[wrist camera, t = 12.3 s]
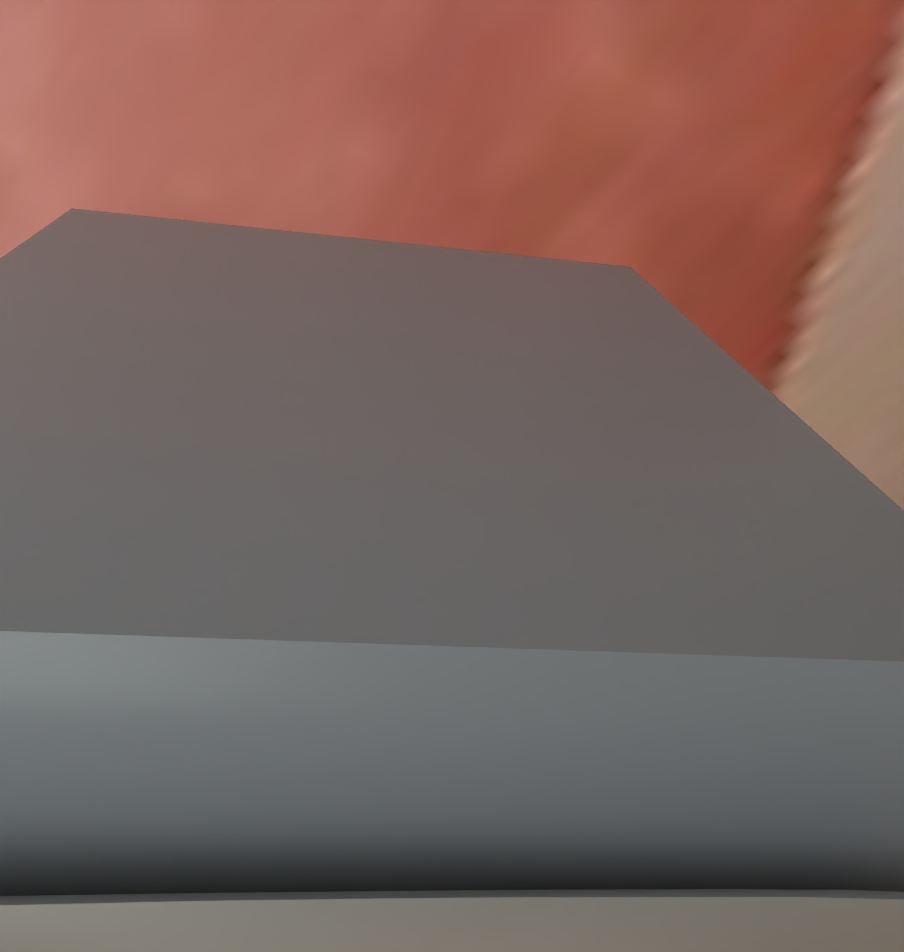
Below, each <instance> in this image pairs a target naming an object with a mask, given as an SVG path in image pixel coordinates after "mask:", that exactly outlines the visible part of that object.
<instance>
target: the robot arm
mask: <svg viewBox="0 0 904 952" xmlns="http://www.w3.org/2000/svg"><path fill="white" fill-rule="evenodd" d="M0 952H904V892H895V891H868V890H778V889H615V890H445V891H338V892H243V893H170V894H104V895H39V896H0Z"/></svg>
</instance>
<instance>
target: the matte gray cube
mask: <svg viewBox="0 0 904 952" xmlns="http://www.w3.org/2000/svg"><path fill="white" fill-rule="evenodd" d="M615 889H778V890H868V891H895V892H904V511H903V510H902V509H901V508H900V507H899V506H898V505H897V504H896V503H894V502H893V501H892V500H891V499H890V498H889V497H888V496H887V495H885V494H884V493H883V492H882V491H881V490H880V489H879V488H878V487H877V486H875V485H874V484H873V483H872V482H871V481H870V480H869V479H868V478H866V477H865V476H864V475H863V474H862V473H861V472H860V471H859V470H857V469H856V468H855V467H854V466H853V465H852V464H851V463H850V462H849V461H847V460H846V459H845V458H844V457H843V456H842V455H841V454H840V453H838V452H837V451H836V450H835V449H834V448H833V447H832V446H831V445H829V444H828V443H827V442H826V441H825V440H824V439H823V438H822V437H820V436H819V435H818V434H817V433H816V432H815V431H814V430H813V429H812V428H810V427H809V426H808V425H807V424H806V423H805V422H804V421H803V420H801V419H800V418H799V417H798V416H797V415H796V414H795V413H794V412H792V411H791V410H790V409H789V408H788V407H787V406H786V405H785V404H783V403H782V402H781V401H780V400H779V399H778V398H777V397H776V396H775V395H773V394H772V393H771V392H770V391H769V390H768V389H767V388H766V387H764V386H763V385H762V384H761V383H760V382H759V381H758V380H757V379H755V378H754V377H753V376H752V375H751V374H750V373H749V372H748V371H746V370H745V369H744V368H743V367H742V366H741V365H740V364H739V363H738V362H736V361H735V360H734V359H733V358H732V357H731V356H730V355H729V354H727V353H726V352H725V351H724V350H723V349H722V348H721V347H720V346H718V345H717V344H716V343H715V342H714V341H713V340H712V339H711V338H709V337H708V336H707V335H706V334H705V333H704V332H703V331H702V330H701V329H699V328H698V327H697V326H696V325H695V324H694V323H693V322H692V321H690V320H689V319H688V318H687V317H686V316H685V315H684V314H683V313H681V312H680V311H679V310H678V309H677V308H676V307H675V306H674V305H672V304H671V303H670V302H669V301H668V300H667V299H666V298H665V297H664V296H662V295H661V294H660V293H659V292H658V291H657V290H656V289H655V288H653V287H652V286H651V285H650V284H649V283H648V282H647V281H646V280H644V279H643V278H642V277H641V276H640V275H639V274H638V273H637V272H635V271H634V270H633V269H632V268H631V267H626V266H617V265H607V264H598V263H588V262H579V261H569V260H560V259H550V258H540V257H531V256H521V255H512V254H502V253H493V252H483V251H474V250H464V249H454V248H445V247H435V246H426V245H416V244H407V243H397V242H388V241H378V240H368V239H359V238H349V237H340V236H330V235H321V234H311V233H302V232H292V231H282V230H273V229H263V228H254V227H244V226H235V225H225V224H216V223H206V222H196V221H187V220H177V219H168V218H158V217H149V216H139V215H130V214H120V213H110V212H101V211H91V210H82V209H70V210H69V211H68V212H66V213H65V214H63V215H62V216H60V217H59V218H58V219H56V220H55V221H53V222H52V223H50V224H49V225H48V226H46V227H45V228H43V229H42V230H40V231H39V232H38V233H36V234H35V235H33V236H32V237H30V238H29V239H28V240H26V241H25V242H23V243H22V244H20V245H19V246H17V247H16V248H15V249H13V250H12V251H10V252H9V253H7V254H6V255H5V256H3V257H2V258H0V896H39V895H104V894H170V893H243V892H338V891H445V890H615Z"/></svg>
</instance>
